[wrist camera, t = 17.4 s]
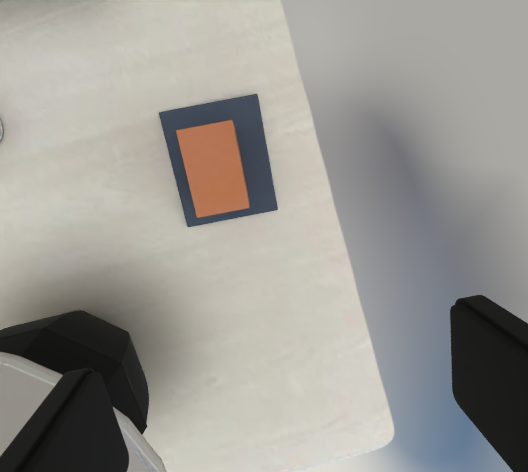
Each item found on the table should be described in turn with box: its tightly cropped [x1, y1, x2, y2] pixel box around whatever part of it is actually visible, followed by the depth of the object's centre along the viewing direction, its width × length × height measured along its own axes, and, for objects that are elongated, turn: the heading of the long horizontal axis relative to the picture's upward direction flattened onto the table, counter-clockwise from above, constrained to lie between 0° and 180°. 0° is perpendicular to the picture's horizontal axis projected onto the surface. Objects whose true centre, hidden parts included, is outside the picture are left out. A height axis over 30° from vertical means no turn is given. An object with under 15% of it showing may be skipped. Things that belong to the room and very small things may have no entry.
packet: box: [176, 120, 249, 218], centre depth 32 cm, size 7×4×9 cm, turn 10°
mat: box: [159, 94, 277, 227], centre depth 36 cm, size 10×12×1 cm
